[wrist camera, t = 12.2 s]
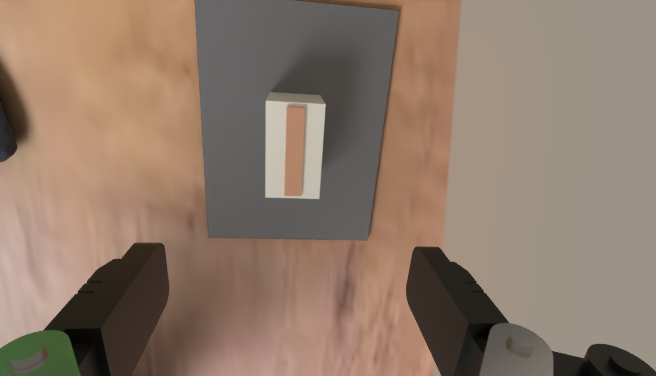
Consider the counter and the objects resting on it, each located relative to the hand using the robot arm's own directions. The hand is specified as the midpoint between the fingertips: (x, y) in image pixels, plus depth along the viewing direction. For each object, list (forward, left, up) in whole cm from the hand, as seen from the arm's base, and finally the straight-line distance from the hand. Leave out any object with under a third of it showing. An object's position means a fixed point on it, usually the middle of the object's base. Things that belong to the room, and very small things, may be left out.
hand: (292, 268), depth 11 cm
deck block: (0, 0, -19) cm, 19 cm away
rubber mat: (0, 0, -20) cm, 20 cm away
